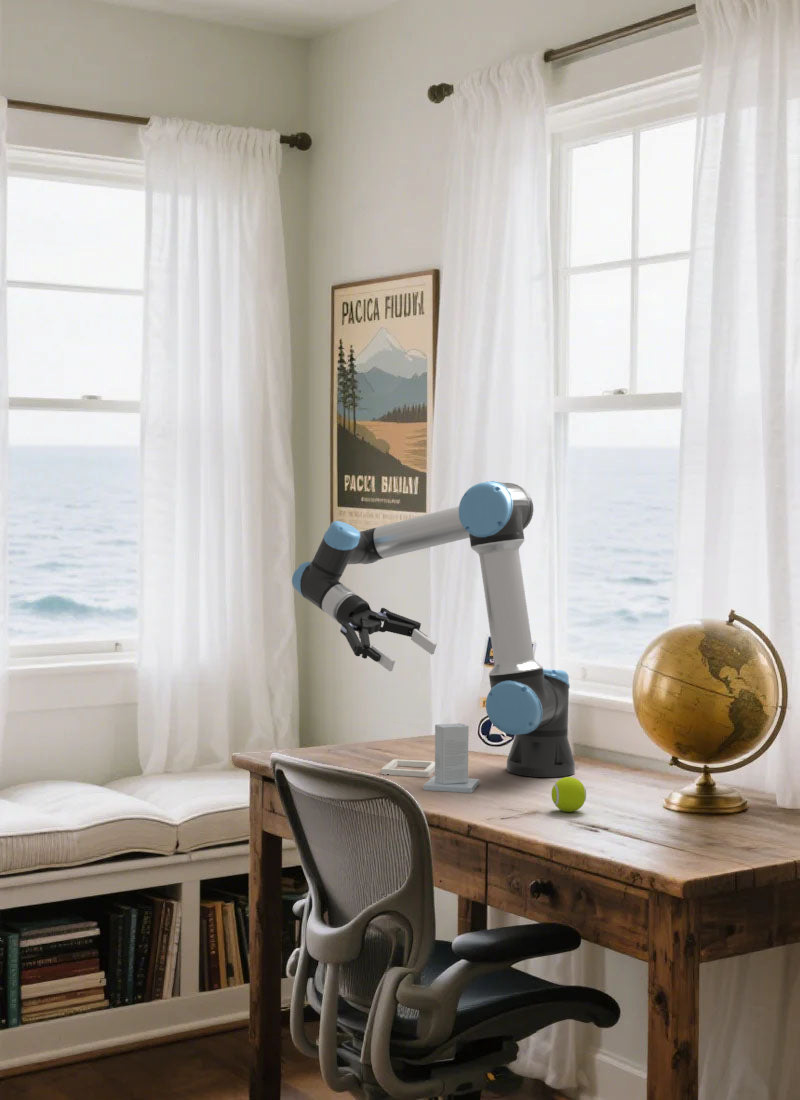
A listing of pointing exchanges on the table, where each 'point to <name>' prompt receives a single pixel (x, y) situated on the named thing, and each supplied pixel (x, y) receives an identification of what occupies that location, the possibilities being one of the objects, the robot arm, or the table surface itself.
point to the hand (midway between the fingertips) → (413, 657)
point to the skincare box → (451, 753)
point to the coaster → (452, 786)
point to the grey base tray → (405, 772)
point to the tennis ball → (568, 794)
